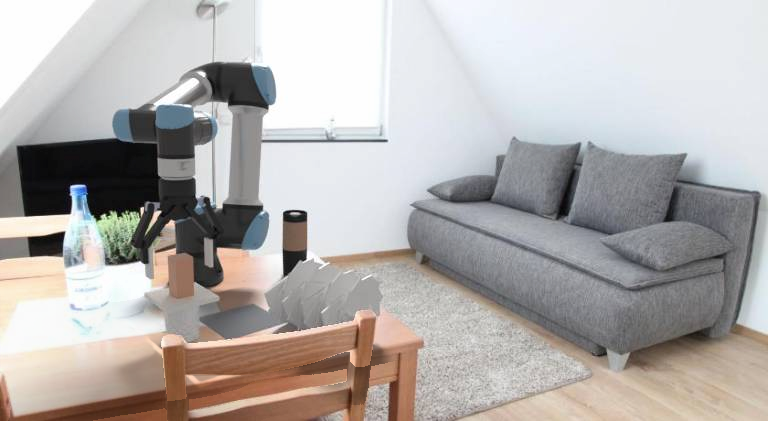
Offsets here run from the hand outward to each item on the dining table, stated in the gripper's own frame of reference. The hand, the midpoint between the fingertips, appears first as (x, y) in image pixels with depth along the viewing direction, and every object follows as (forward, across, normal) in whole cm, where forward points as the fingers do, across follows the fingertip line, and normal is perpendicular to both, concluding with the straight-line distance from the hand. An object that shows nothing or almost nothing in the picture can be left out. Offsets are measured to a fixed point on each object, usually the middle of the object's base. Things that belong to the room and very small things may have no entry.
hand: (180, 271), depth 124 cm
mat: (+16, +15, 0) cm, 22 cm away
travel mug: (+17, +47, +23) cm, 55 cm away
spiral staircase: (+17, +27, -18) cm, 36 cm away
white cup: (+17, 0, 0) cm, 17 cm away
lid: (+6, 0, 0) cm, 6 cm away
